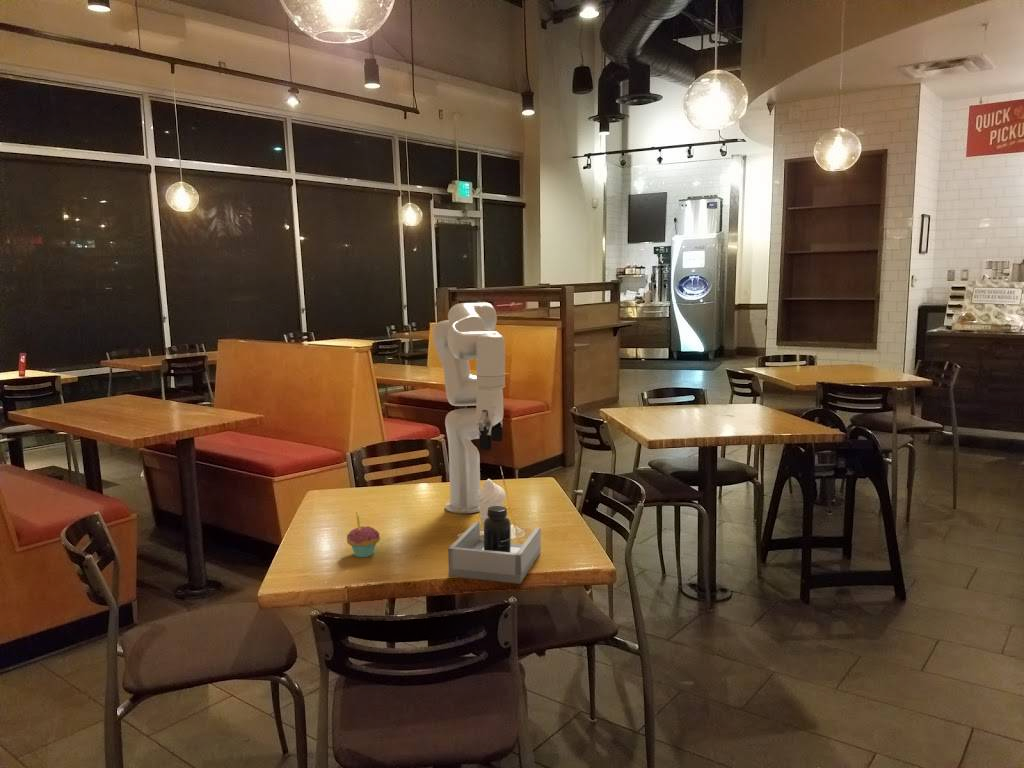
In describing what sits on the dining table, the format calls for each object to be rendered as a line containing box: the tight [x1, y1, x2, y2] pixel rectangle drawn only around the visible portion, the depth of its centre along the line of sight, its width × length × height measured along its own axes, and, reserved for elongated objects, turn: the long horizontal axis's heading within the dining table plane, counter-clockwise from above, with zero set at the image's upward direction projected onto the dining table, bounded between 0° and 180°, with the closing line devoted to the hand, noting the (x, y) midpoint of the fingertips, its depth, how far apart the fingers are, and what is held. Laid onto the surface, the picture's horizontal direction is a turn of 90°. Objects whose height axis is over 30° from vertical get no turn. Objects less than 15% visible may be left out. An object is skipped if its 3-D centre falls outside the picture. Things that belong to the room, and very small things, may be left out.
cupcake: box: [346, 512, 381, 558], centre depth 189 cm, size 9×8×12 cm
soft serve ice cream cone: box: [476, 478, 506, 532], centre depth 203 cm, size 8×8×16 cm
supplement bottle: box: [483, 505, 512, 552], centre depth 182 cm, size 7×7×12 cm
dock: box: [447, 521, 542, 585], centre depth 181 cm, size 20×18×7 cm
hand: (491, 445), depth 191 cm, fingers open, 9 cm apart
